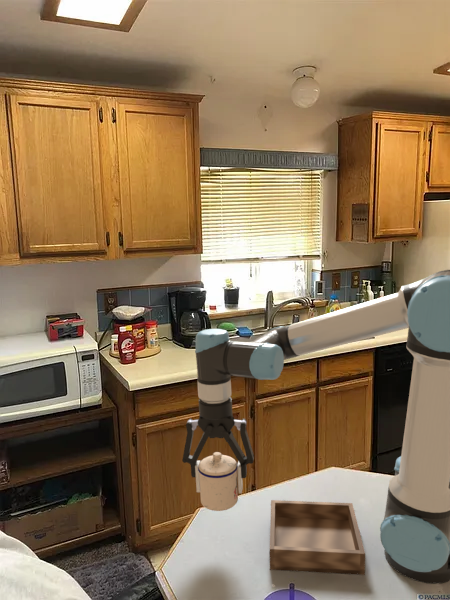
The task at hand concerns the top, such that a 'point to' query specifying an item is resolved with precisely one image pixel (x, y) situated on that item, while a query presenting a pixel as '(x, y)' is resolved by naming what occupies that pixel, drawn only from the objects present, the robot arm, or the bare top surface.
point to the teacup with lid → (218, 482)
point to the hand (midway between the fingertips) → (219, 489)
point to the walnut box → (315, 538)
